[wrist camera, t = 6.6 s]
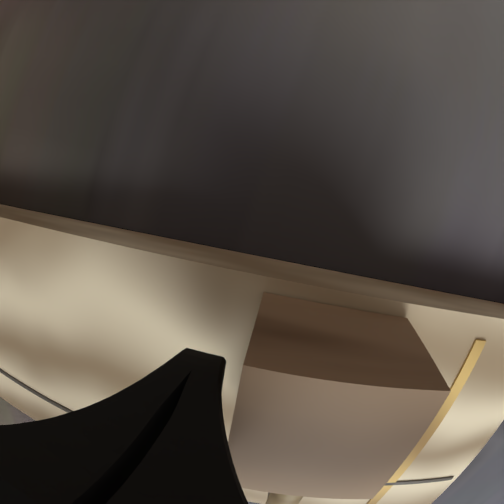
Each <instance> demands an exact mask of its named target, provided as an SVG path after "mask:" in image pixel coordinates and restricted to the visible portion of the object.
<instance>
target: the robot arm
mask: <svg viewBox="0 0 504 504" xmlns="http://www.w3.org/2000/svg"><path fill="white" fill-rule="evenodd" d="M225 367H226V360H225V358H224V357H222V356H218V355H214V354H209V353H205V352H201V351H197V350H193V349H190V348H185V349H184V350H182V351H181V352H179V353H178V354H177V355H175V356H174V357H173V358H171V359H170V360H168V361H167V362H166V363H164V364H163V365H161V366H160V367H159V368H157V369H156V370H154V371H153V372H151V373H150V374H148V375H146V376H145V377H143V378H142V379H140V380H139V381H137V382H135V383H134V384H132V385H130V386H128V387H127V388H125V389H123V390H121V391H119V392H118V393H116V394H114V395H112V396H110V397H108V398H106V399H103V400H101V401H99V402H97V403H94V404H92V405H89V406H87V407H84V408H82V409H79V410H76V411H72V412H69V413H66V414H62V415H59V416H56V417H52V418H48V419H43V420H38V421H33V422H27V423H20V424H12V425H0V504H248V502H247V500H246V497H245V495H244V492H243V489H242V487H241V484H240V482H239V479H238V476H237V474H236V470H235V467H234V464H233V460H232V457H231V453H230V449H229V445H228V441H227V436H226V430H225V424H224V417H223V408H222V387H223V380H224V373H225Z"/></svg>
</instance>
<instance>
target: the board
mask: <svg viewBox="0 0 504 504" xmlns="http://www.w3.org/2000/svg"><path fill="white" fill-rule="evenodd" d="M264 292H266V293H271V294H276V295H281V296H286V297H291V298H296V299H301V300H306V301H312V302H317V303H322V304H328V305H333V306H339V307H344V308H350V309H356V310H361V311H367V312H373V313H379V314H385V315H391V316H397V317H403V318H408V320H409V321H410V323H411V324H412V326H413V328H414V329H415V331H416V332H417V334H418V336H419V337H420V339H421V340H422V342H423V344H424V345H425V347H426V349H427V350H428V352H429V354H430V355H431V357H432V359H433V360H434V362H435V364H436V366H437V367H438V369H439V371H440V372H441V374H442V376H443V378H444V379H445V381H446V383H447V385H448V387H449V388H450V390H451V392H450V393H449V395H448V397H447V399H446V400H445V402H444V404H443V405H442V407H441V408H440V410H439V412H438V413H437V415H436V416H435V418H434V420H433V421H432V423H431V424H430V426H429V427H428V429H427V430H426V432H425V433H424V435H423V436H422V437H421V439H420V440H419V442H418V443H417V445H416V446H415V447H414V449H413V450H412V451H411V453H410V454H409V455H408V457H407V458H406V459H405V461H404V462H403V463H402V465H401V466H400V467H399V468H398V470H397V471H396V472H395V473H394V475H393V476H392V477H391V478H390V479H389V481H388V482H387V483H386V484H385V485H384V486H383V488H382V489H381V490H380V491H379V492H378V493H377V494H376V495H375V497H374V498H373V499H329V498H313V497H303V498H302V499H301V501H300V502H299V504H431V503H432V502H433V501H434V500H435V499H436V498H438V497H439V496H440V495H441V494H442V493H443V492H444V491H445V490H446V489H447V488H448V487H449V485H450V484H451V483H452V482H453V481H454V480H455V479H456V478H457V477H458V476H459V475H460V474H461V473H462V472H463V470H464V469H465V468H466V467H467V466H468V465H469V464H470V462H471V461H472V460H473V459H474V458H475V457H476V455H477V454H478V453H479V452H480V450H481V449H482V448H483V447H484V445H485V444H486V443H487V442H488V440H489V439H490V438H491V436H492V435H493V434H494V432H495V431H496V430H497V428H498V427H499V425H500V424H501V423H502V421H503V420H504V304H502V303H497V302H491V301H486V300H481V299H476V298H471V297H465V296H460V295H455V294H450V293H445V292H440V291H434V290H429V289H424V288H419V287H414V286H409V285H404V284H398V283H393V282H388V281H383V280H378V279H373V278H368V277H362V276H357V275H352V274H347V273H342V272H337V271H332V270H327V269H322V268H317V267H311V266H306V265H301V264H296V263H291V262H286V261H281V260H276V259H271V258H266V257H261V256H256V255H251V254H246V253H240V252H235V251H230V250H225V249H220V248H215V247H210V246H205V245H200V244H195V243H190V242H185V241H180V240H175V239H170V238H165V237H160V236H155V235H150V234H145V233H140V232H135V231H130V230H125V229H120V228H115V227H110V226H105V225H100V224H95V223H90V222H85V221H80V220H75V219H70V218H65V217H61V216H56V215H51V214H46V213H41V212H36V211H31V210H26V209H21V208H16V207H11V206H6V205H1V204H0V397H1V398H3V399H4V400H6V401H7V402H8V403H10V404H11V405H13V406H14V407H16V408H17V409H19V410H20V411H22V412H23V413H25V414H26V415H28V416H29V417H31V418H33V419H34V420H36V421H38V420H43V419H48V418H52V417H56V416H59V415H62V414H66V413H69V412H72V411H76V410H79V409H82V408H84V407H87V406H89V405H92V404H94V403H97V402H99V401H101V400H103V399H106V398H108V397H110V396H112V395H114V394H116V393H118V392H119V391H121V390H123V389H125V388H127V387H128V386H130V385H132V384H134V383H135V382H137V381H139V380H140V379H142V378H143V377H145V376H146V375H148V374H150V373H151V372H153V371H154V370H156V369H157V368H159V367H160V366H161V365H163V364H164V363H166V362H167V361H168V360H170V359H171V358H173V357H174V356H175V355H177V354H178V353H179V352H181V351H182V350H184V349H185V348H190V349H193V350H197V351H201V352H205V353H209V354H214V355H218V356H222V357H224V358H225V360H226V367H225V373H224V380H223V387H222V408H223V417H224V424H225V430H226V436H227V441H228V439H229V434H230V429H231V424H232V419H233V414H234V409H235V404H236V398H237V393H238V388H239V383H240V378H241V373H242V367H243V363H244V360H245V356H246V353H247V349H248V346H249V342H250V339H251V335H252V332H253V328H254V325H255V321H256V318H257V314H258V311H259V307H260V303H261V300H262V296H263V293H264ZM242 489H243V492H244V495H245V497H246V500H247V501H250V502H256V503H262V504H265V503H266V501H267V497H268V492H262V491H256V490H251V489H245V488H242Z"/></svg>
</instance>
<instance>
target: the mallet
mask: <svg viewBox="0 0 504 504" xmlns="http://www.w3.org/2000/svg"><path fill="white" fill-rule="evenodd" d="M450 392H451V390H450V388H449V387H448V385H447V383H446V381H445V379H444V378H443V376H442V374H441V372H440V371H439V369H438V367H437V366H436V364H435V362H434V360H433V359H432V357H431V355H430V354H429V352H428V350H427V349H426V347H425V345H424V344H423V342H422V340H421V339H420V337H419V336H418V334H417V332H416V331H415V329H414V328H413V326H412V324H411V323H410V321H409V320H408V318H403V317H397V316H391V315H385V314H379V313H373V312H367V311H361V310H356V309H350V308H344V307H339V306H333V305H328V304H322V303H317V302H312V301H306V300H301V299H296V298H291V297H286V296H281V295H276V294H271V293H266V292H264V293H263V296H262V300H261V303H260V307H259V311H258V314H257V318H256V321H255V325H254V328H253V332H252V335H251V339H250V342H249V346H248V349H247V353H246V356H245V360H244V363H243V367H242V373H241V378H240V383H239V388H238V393H237V398H236V404H235V409H234V414H233V419H232V424H231V429H230V434H229V439H228V445H229V449H230V453H231V457H232V460H233V464H234V467H235V470H236V474H237V476H238V479H239V482H240V484H241V487H242V488H245V489H251V490H256V491H262V492H268V497H267V501H266V503H265V504H299V502H300V501H301V499H302V498H303V497H313V498H329V499H373V498H374V497H375V495H376V494H377V493H378V492H379V491H380V490H381V489H382V488H383V486H384V485H385V484H386V483H387V482H388V481H389V479H390V478H391V477H392V476H393V475H394V473H395V472H396V471H397V470H398V468H399V467H400V466H401V465H402V463H403V462H404V461H405V459H406V458H407V457H408V455H409V454H410V453H411V451H412V450H413V449H414V447H415V446H416V445H417V443H418V442H419V440H420V439H421V437H422V436H423V435H424V433H425V432H426V430H427V429H428V427H429V426H430V424H431V423H432V421H433V420H434V418H435V416H436V415H437V413H438V412H439V410H440V408H441V407H442V405H443V404H444V402H445V400H446V399H447V397H448V395H449V393H450Z"/></svg>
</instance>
